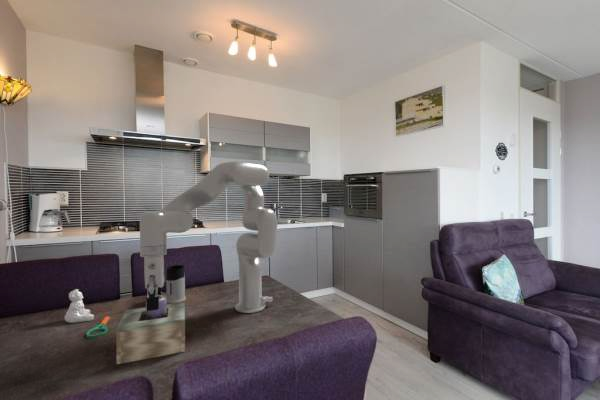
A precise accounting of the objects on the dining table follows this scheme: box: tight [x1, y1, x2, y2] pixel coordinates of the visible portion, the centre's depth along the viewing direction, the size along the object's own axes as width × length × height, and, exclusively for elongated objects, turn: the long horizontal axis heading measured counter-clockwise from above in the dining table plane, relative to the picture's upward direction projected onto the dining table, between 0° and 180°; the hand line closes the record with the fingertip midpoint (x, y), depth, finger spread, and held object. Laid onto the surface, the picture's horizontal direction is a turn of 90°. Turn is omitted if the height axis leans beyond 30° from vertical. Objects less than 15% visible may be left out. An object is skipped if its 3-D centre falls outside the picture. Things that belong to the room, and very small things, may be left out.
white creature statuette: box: [63, 288, 95, 324], centre depth 112 cm, size 10×9×12 cm
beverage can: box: [145, 294, 168, 320], centre depth 93 cm, size 6×6×15 cm
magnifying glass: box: [86, 316, 111, 339], centre depth 105 cm, size 15×6×2 cm, turn 20°
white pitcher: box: [161, 264, 187, 304], centre depth 131 cm, size 9×14×15 cm, turn 148°
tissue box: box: [115, 301, 186, 365], centre depth 92 cm, size 18×15×10 cm
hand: (154, 304), depth 92 cm, fingers open, 8 cm apart
